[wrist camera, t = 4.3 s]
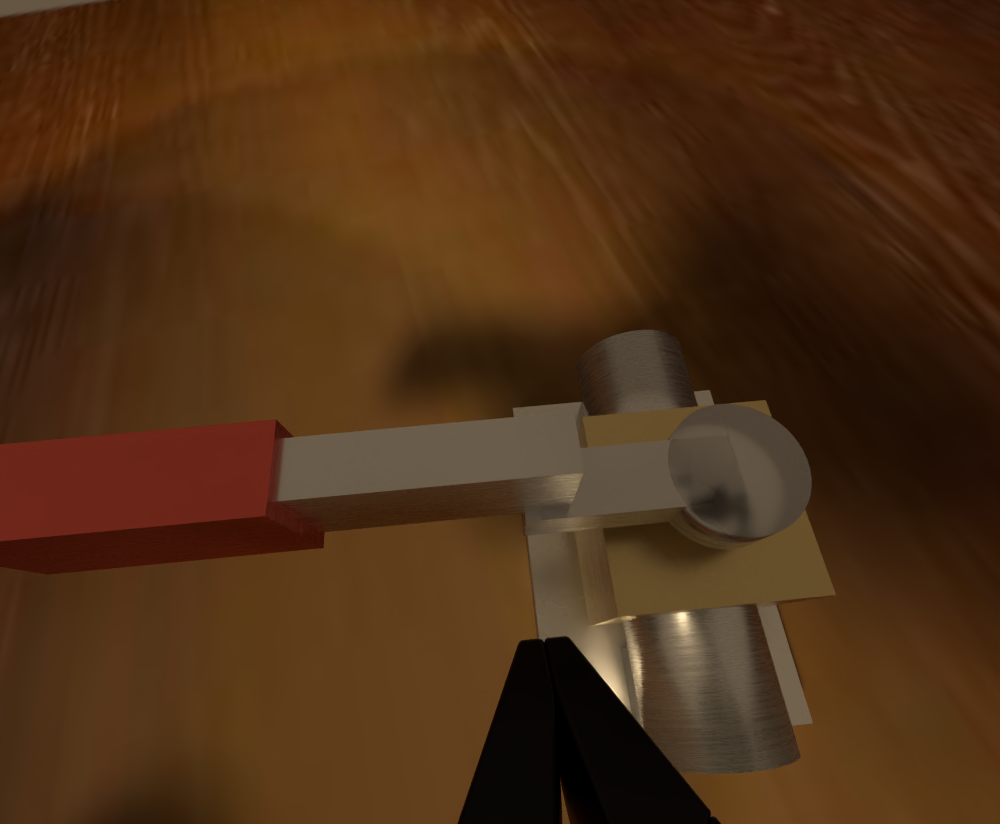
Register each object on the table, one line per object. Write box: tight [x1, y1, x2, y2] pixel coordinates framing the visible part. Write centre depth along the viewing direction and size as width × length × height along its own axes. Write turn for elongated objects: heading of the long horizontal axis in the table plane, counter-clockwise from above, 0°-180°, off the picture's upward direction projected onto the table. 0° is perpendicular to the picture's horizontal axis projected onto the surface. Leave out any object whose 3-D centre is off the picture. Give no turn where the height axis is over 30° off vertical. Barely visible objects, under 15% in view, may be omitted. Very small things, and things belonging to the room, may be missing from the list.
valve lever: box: [0, 404, 812, 575], centre depth 11 cm, size 3×17×4 cm, turn 96°
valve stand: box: [513, 330, 836, 774], centre depth 17 cm, size 13×9×9 cm
